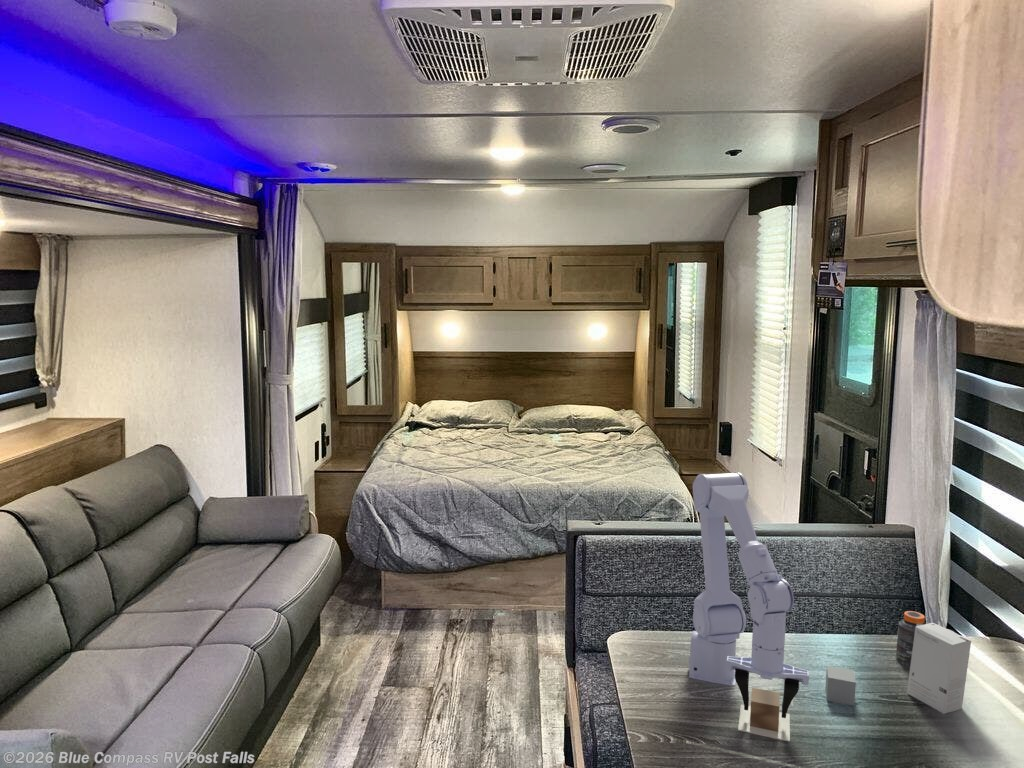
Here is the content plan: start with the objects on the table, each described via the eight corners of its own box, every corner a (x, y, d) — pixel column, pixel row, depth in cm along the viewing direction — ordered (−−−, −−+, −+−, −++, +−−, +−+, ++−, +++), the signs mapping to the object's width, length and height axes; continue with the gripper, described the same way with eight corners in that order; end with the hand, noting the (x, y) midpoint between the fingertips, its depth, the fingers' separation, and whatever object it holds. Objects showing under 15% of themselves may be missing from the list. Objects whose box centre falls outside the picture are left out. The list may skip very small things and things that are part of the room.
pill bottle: (930, 670, 151) (934, 621, 150) (901, 667, 153) (904, 618, 151) (920, 657, 157) (924, 609, 156) (892, 654, 158) (895, 607, 157)
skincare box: (906, 694, 142) (911, 625, 140) (925, 688, 144) (931, 620, 143) (946, 716, 134) (952, 644, 133) (966, 709, 137) (972, 638, 135)
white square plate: (737, 732, 129) (738, 729, 129) (740, 706, 137) (740, 704, 137) (789, 743, 126) (789, 740, 126) (789, 716, 134) (789, 714, 134)
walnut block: (749, 726, 130) (750, 701, 130) (750, 711, 135) (751, 687, 134) (778, 731, 128) (779, 706, 128) (778, 717, 133) (779, 692, 132)
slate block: (826, 700, 139) (828, 677, 138) (825, 688, 144) (826, 665, 143) (854, 706, 137) (855, 682, 136) (852, 693, 142) (853, 670, 141)
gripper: (726, 645, 129) (723, 714, 130) (810, 660, 123) (806, 731, 125) (729, 629, 135) (726, 694, 137) (809, 643, 130) (805, 710, 131)
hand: (764, 711), depth 131 cm, fingers open, 6 cm apart
